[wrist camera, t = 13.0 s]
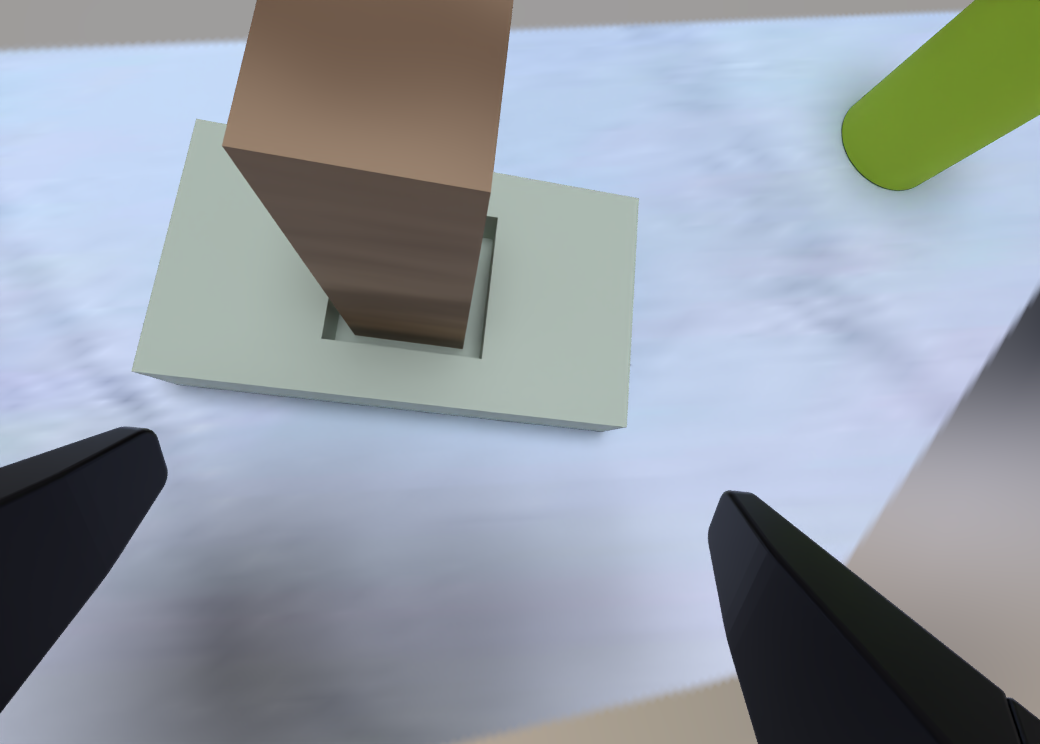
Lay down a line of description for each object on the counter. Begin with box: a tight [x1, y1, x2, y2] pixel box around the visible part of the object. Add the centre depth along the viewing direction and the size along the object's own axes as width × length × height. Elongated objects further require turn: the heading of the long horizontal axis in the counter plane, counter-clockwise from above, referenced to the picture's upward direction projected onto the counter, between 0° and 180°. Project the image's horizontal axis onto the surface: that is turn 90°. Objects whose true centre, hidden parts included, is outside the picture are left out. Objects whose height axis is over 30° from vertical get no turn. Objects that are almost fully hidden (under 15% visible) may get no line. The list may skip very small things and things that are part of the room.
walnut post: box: [222, 0, 513, 349], centre depth 15 cm, size 4×4×12 cm
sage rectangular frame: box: [132, 119, 639, 432], centre depth 20 cm, size 18×10×3 cm, turn 85°
